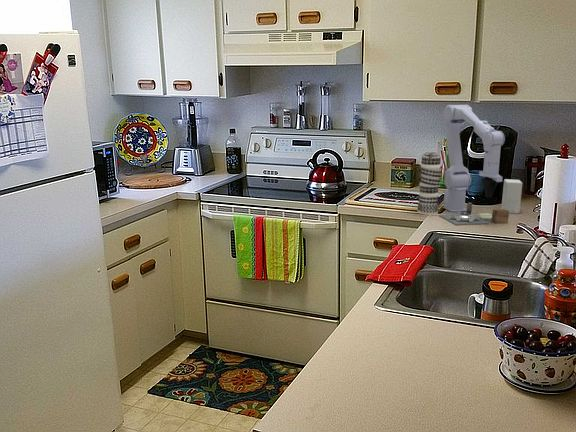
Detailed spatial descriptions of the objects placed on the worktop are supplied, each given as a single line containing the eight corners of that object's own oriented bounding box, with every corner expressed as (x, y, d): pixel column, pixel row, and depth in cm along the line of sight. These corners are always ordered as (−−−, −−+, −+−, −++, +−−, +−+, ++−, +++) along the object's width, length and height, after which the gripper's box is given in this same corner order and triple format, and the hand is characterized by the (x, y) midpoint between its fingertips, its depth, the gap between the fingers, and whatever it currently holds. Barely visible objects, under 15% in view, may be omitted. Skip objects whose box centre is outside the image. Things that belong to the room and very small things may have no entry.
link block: (491, 221, 242) (492, 208, 241) (503, 221, 243) (504, 208, 242) (496, 223, 239) (497, 210, 238) (507, 223, 240) (509, 210, 239)
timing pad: (472, 215, 252) (472, 213, 252) (488, 214, 253) (488, 212, 253) (482, 219, 244) (482, 218, 244) (498, 219, 246) (498, 217, 246)
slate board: (439, 216, 250) (439, 214, 250) (471, 214, 252) (471, 213, 252) (455, 225, 236) (456, 223, 235) (489, 223, 238) (489, 222, 238)
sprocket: (443, 218, 242) (444, 205, 241) (455, 212, 252) (456, 200, 250) (473, 223, 235) (475, 209, 234) (485, 217, 245) (486, 204, 243)
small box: (519, 213, 256) (522, 182, 253) (503, 212, 257) (506, 182, 254) (516, 209, 263) (519, 179, 260) (500, 208, 265) (503, 178, 261)
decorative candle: (418, 209, 262) (421, 150, 256) (440, 211, 259) (444, 152, 253) (414, 213, 254) (418, 153, 248) (437, 215, 250) (441, 154, 245)
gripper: (473, 160, 244) (470, 193, 247) (491, 165, 230) (488, 201, 233) (489, 159, 245) (486, 193, 248) (508, 165, 231) (505, 200, 235)
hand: (488, 197), depth 241 cm, fingers closed
